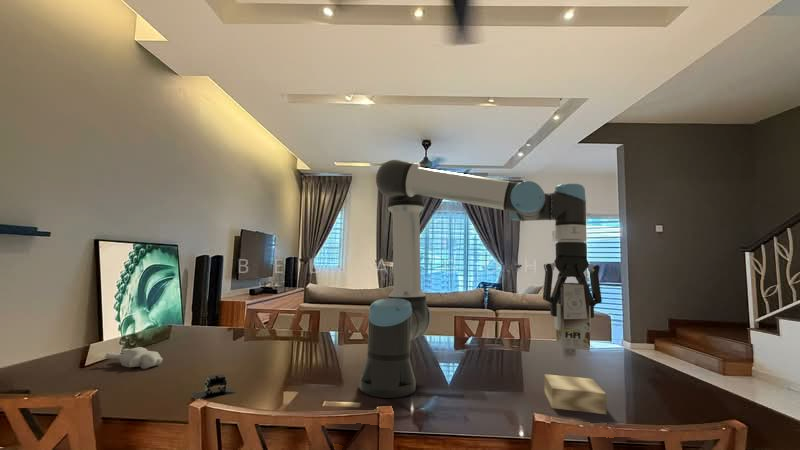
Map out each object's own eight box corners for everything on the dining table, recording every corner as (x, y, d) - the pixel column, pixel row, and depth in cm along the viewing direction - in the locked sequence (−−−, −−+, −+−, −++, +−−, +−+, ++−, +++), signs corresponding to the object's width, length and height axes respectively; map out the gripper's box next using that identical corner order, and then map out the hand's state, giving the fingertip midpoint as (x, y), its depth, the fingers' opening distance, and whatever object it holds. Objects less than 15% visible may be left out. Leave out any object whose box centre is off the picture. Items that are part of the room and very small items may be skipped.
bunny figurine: (145, 358, 107) (102, 348, 109) (142, 375, 106) (98, 365, 109) (170, 350, 116) (130, 341, 118) (167, 366, 115) (126, 357, 118)
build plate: (188, 405, 85) (190, 384, 85) (184, 395, 91) (185, 376, 91) (244, 395, 92) (246, 376, 93) (237, 386, 98) (238, 369, 99)
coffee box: (591, 350, 90) (590, 284, 92) (563, 348, 91) (562, 283, 93) (580, 343, 99) (579, 282, 101) (555, 341, 100) (554, 281, 102)
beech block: (552, 409, 89) (552, 388, 90) (544, 392, 101) (544, 374, 101) (606, 415, 87) (606, 393, 87) (592, 398, 98) (591, 378, 99)
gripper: (536, 240, 95) (537, 330, 93) (616, 242, 93) (619, 334, 91) (529, 241, 103) (529, 325, 100) (602, 243, 101) (604, 329, 98)
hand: (572, 329), depth 96 cm, fingers closed on coffee box, 7 cm apart
